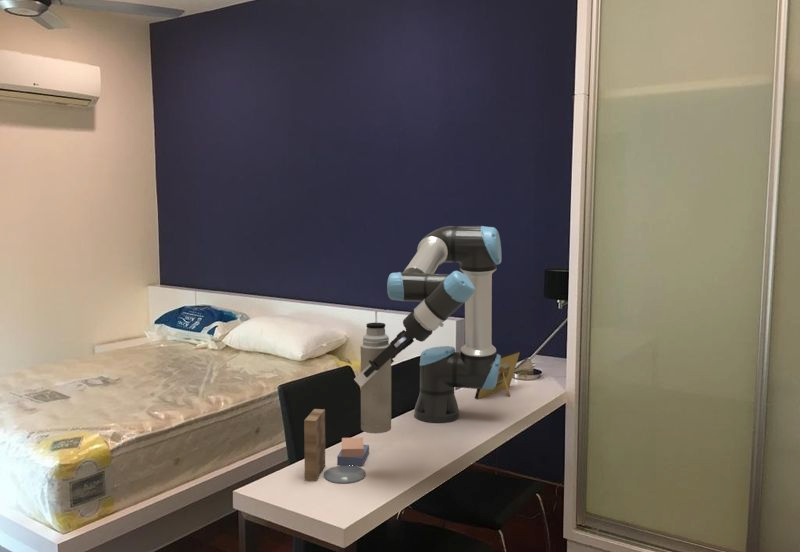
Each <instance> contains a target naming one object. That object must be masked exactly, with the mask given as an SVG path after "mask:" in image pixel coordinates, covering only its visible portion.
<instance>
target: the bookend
mask: <svg viewBox="0 0 800 552" xmlns="http://www.w3.org/2000/svg"><path fill="white" fill-rule="evenodd" d="M303 421H304V422H303V423H304V424H303V432H304V435H303V436H304V440H303V441H304V445H303V446H304V450H303V451H304V481H305V482H317V480H318V479H319V477H320V476H321V474H322V472H323V471H324V469H326V409H325V408H323V409H321V408H314V409H312V411H311V412H310V413H309V414H308V416H307V417H305V419H304V420H303Z"/></svg>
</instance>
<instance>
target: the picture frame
mask: <svg viewBox="0 0 800 552" xmlns="http://www.w3.org/2000/svg"><path fill="white" fill-rule="evenodd" d="M520 353H521V351H518V350H517V351H514V352H511V353H507V354H504V355H501V361H500V368H499V374H498V379H497V384H496V386H495V388H493V389H483V390H481V389H476V392H475V395H474V399H476V400H479V399H480V400H481V399H482V398H485V397H487V396H490V395H492V394H495V393H497V392H499V391H501V390H502V391H503V390H505V389H506V392H507V394H508V396H509V398H510V397H511V393H510V389H509V388H510V386H511V382H512V380H513V376H514V373H515V370H516V367H517V363H518V360H519V356H520Z"/></svg>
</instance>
